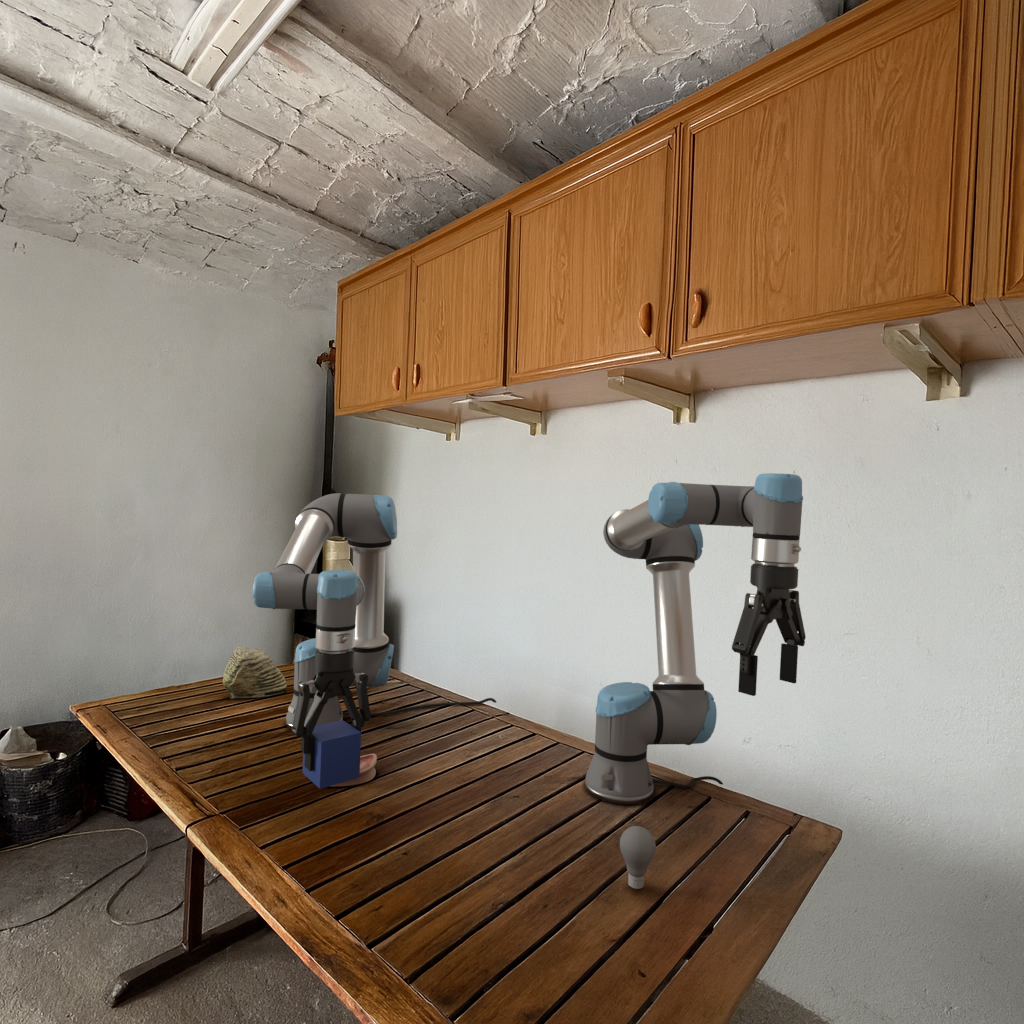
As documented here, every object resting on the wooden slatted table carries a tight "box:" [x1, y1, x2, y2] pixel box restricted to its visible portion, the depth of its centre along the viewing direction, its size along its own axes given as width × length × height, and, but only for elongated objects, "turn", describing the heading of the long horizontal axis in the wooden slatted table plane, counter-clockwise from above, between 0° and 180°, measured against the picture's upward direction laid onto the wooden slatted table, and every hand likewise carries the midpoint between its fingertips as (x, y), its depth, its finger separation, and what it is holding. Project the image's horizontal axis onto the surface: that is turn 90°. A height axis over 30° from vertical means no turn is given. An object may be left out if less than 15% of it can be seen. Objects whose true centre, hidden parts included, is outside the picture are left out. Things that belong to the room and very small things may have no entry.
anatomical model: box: [331, 753, 378, 788], centre depth 144 cm, size 13×4×12 cm
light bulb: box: [619, 825, 657, 890], centre depth 107 cm, size 6×6×10 cm
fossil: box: [222, 646, 288, 699], centre depth 198 cm, size 9×18×15 cm, turn 132°
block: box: [302, 719, 362, 790], centre depth 125 cm, size 8×8×9 cm
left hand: (331, 762), depth 126 cm, fingers closed on block, 8 cm apart
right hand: (768, 687), depth 109 cm, fingers open, 13 cm apart
